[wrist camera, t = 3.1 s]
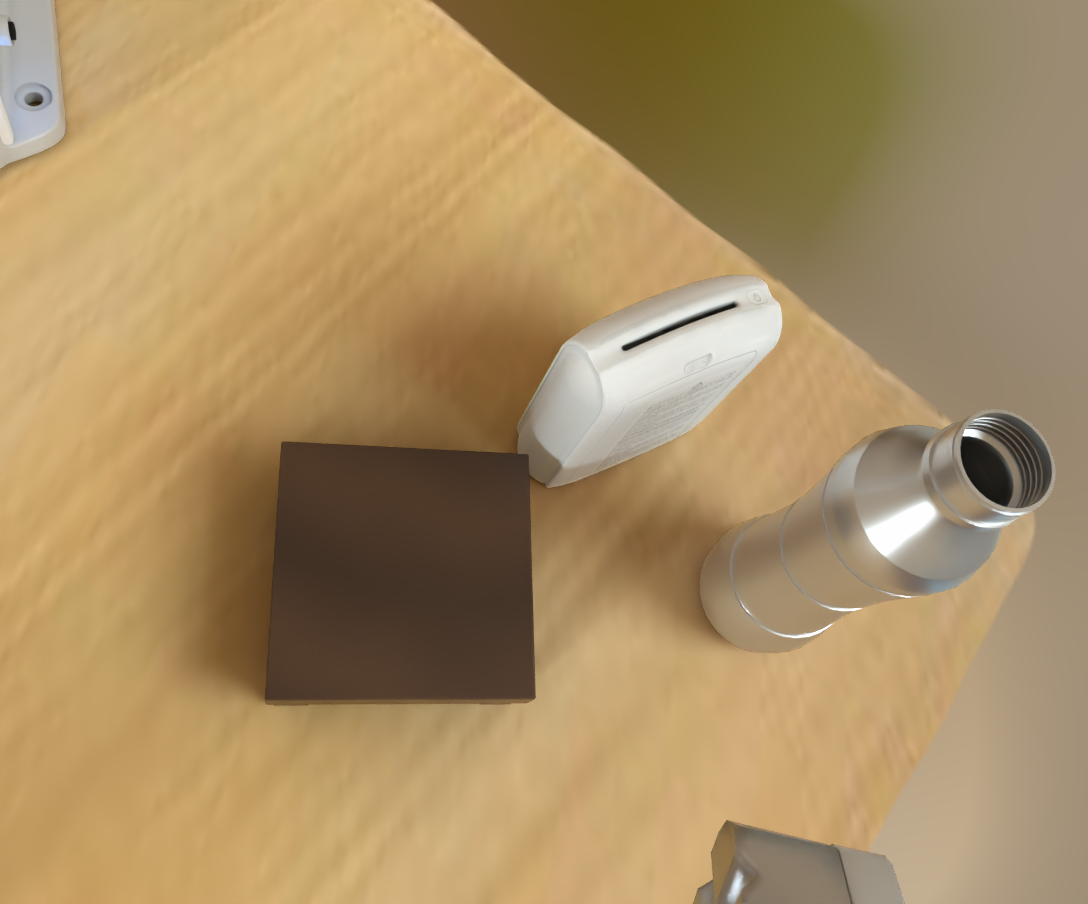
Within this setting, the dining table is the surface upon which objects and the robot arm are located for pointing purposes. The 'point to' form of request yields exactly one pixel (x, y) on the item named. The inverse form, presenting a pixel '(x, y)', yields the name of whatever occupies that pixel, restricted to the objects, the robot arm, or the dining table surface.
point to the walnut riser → (401, 577)
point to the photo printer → (645, 376)
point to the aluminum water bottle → (877, 529)
